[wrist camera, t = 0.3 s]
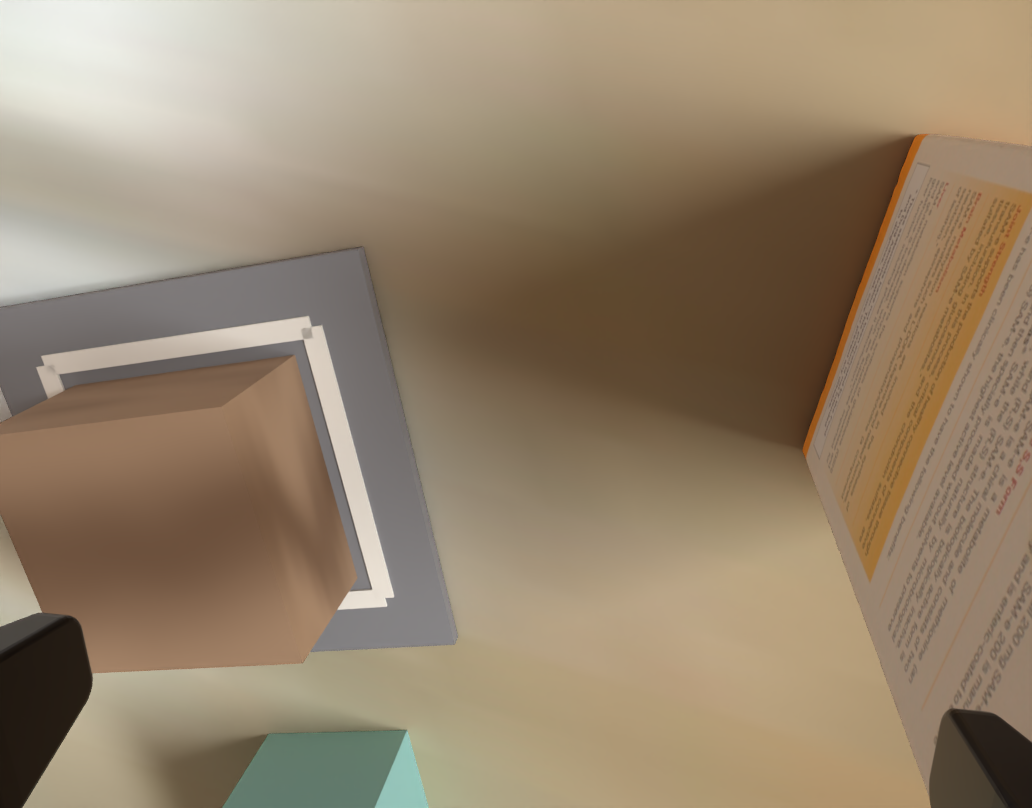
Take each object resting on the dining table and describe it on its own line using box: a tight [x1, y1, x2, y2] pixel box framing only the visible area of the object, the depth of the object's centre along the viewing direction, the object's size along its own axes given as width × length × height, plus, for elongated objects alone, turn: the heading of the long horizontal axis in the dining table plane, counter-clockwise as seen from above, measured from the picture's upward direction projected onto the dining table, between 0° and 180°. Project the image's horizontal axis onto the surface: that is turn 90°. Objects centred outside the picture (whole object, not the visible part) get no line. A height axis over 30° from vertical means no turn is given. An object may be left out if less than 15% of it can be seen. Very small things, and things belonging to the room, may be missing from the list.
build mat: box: [0, 247, 458, 652], centre depth 25 cm, size 12×12×1 cm
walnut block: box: [0, 355, 357, 673], centre depth 23 cm, size 7×7×4 cm
